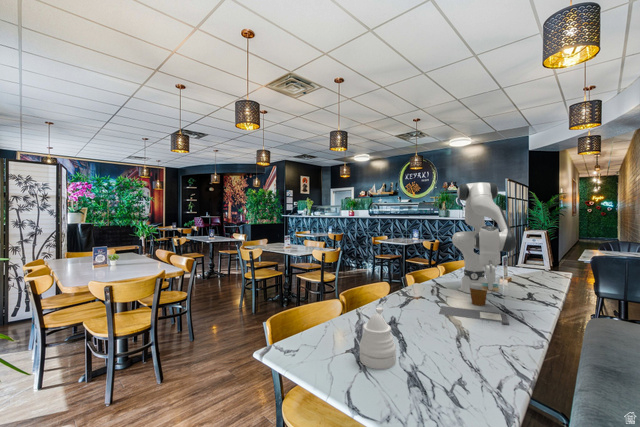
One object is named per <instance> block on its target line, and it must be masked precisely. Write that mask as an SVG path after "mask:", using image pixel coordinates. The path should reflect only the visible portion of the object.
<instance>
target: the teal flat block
mask: <svg viewBox="0 0 640 427" xmlns="http://www.w3.org/2000/svg"><path fill="white" fill-rule="evenodd" d="M482 290H486V291H491V292H495V293H499V292H500V288H499V284H498V283H493V290H489V289H488V283H482Z"/></svg>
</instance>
